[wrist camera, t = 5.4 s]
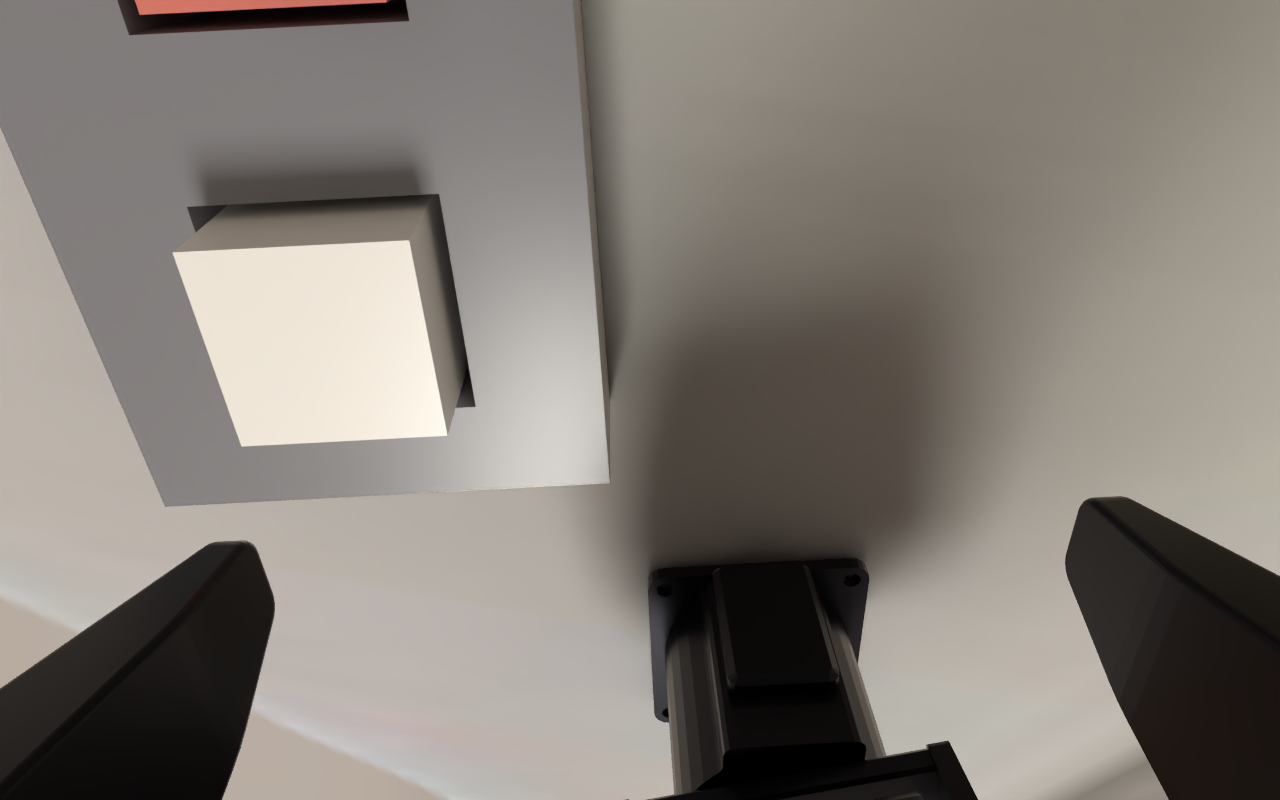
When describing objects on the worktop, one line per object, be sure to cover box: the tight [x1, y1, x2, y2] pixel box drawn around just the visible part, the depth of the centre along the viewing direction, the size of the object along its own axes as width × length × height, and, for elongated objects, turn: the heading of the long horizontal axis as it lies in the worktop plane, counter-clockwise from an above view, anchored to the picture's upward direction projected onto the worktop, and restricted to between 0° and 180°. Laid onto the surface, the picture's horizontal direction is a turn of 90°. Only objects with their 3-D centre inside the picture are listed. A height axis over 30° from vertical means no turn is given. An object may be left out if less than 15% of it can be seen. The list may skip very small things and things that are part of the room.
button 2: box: [172, 194, 468, 447], centre depth 17 cm, size 4×4×3 cm
